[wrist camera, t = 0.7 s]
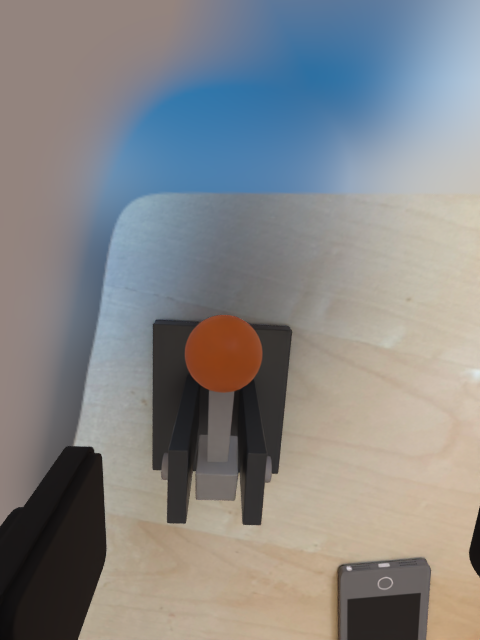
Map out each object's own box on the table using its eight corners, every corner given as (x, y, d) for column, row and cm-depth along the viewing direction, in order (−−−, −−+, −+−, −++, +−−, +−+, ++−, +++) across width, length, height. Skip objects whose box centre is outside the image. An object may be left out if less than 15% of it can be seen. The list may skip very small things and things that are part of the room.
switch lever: (188, 297, 16) (179, 351, 14) (264, 301, 16) (269, 354, 14) (191, 454, 24) (185, 507, 21) (243, 456, 24) (243, 508, 22)
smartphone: (420, 679, 39) (423, 687, 38) (338, 686, 39) (340, 694, 38) (428, 558, 35) (432, 564, 34) (338, 565, 35) (340, 572, 34)
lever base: (155, 319, 29) (115, 377, 18) (289, 326, 29) (324, 386, 19) (154, 461, 32) (120, 580, 21) (276, 464, 32) (300, 583, 22)
